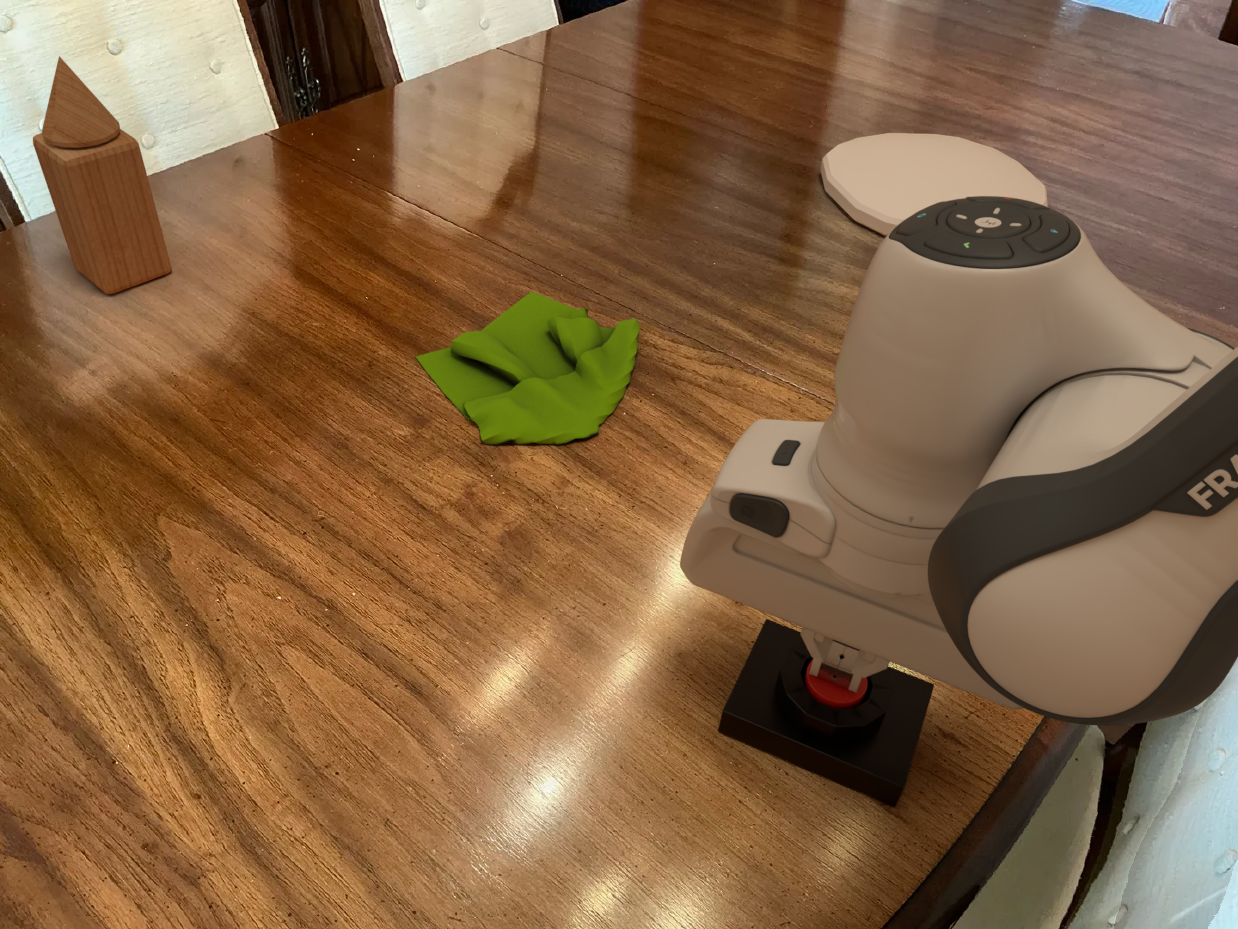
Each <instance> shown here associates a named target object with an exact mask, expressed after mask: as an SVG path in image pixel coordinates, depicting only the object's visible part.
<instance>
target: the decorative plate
mask: <svg viewBox="0 0 1238 929" xmlns="http://www.w3.org/2000/svg"><path fill="white" fill-rule="evenodd" d="M819 171H820V175H821V179H822V183H823V188H824V191H825V192H826V193H827V195H829V196H830V198H832V200H834V202H836V204H838V205H839V206H840V208H842V210H843V211H844V212H845V213H846V214H847V215H848V216H849V217H850V218H851V219H852V220H854V221H855V223H858V224H859V225H862V226H864V227H866V228H868V229H870V230H872V231H874V232H876V233H878V234H880V235H882V236H884V237H886V236H887V235H888V234H889V233H890V232H891V231H892V230H893V229H894V228H895V227H896V226H897V225H899V224H900V223H901V222H902V221H904V220H905V219H907V218H908V217H910V216H912V215H913V214H915V213H916V212H918V211H920V210H922V209H924V208H926V207H928V206H931V205H933V204H936V203H939V202H942V201H950V200H955V199H963V198H966V197H973V196H998V197H1010V198H1017V199H1022V200H1027V201H1031V202H1035V203H1038V204H1041V205H1043V206H1046V207H1048V206H1049V205H1048V193H1047V192H1048V191H1047V187H1046V185H1045V184H1044V183H1043V182H1042V181H1040V180H1039V179H1038V178H1037V177H1036V176H1035V175H1033V173H1031V172H1030V171H1029V170H1028V168H1026V167H1025V166H1024V165H1022V164H1021V162H1019V161H1017V160H1016V159H1014V158H1012V157H1010V156H1009V155H1007V154H1005V153H1004V152H1002V151H1001V150H998V149H997V148H996V147H992V146H988V145H985V144H982V143H979V142H975V141H973V140H969V139H966V138H963V137H960V136H953V135H946V134H938V133H911V132H910V133H909V132H887V133H880V134H873V135H867V136H861V137H860V136H859V137H855V138H852V139H850V140H847V141H844V142H842V143H839V144H837V145H835V146H834V147H833V148H832V149H831V150H830V151H828V152H827V153H825V155H824V156H823V157H822V159H821V164H820V167H819Z"/></svg>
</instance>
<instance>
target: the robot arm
mask: <svg viewBox="0 0 1238 929" xmlns="http://www.w3.org/2000/svg"><path fill="white" fill-rule="evenodd" d="M843 335H844V336H843V339H842V342H841V345H840V346H841V347H840V349H839V353H838V357H837V361H836V365H835V369H834V375H833V389H834V396H835V397H834V398H835V402H834V406H833V410H832V411H831V413H830V414H829V415H828V417H827V418H826V420H825V421H811V420H810V421H809V420H808V421H807V420H789V419H773V418H761V419H757V420H754V421H753V422H752V423H750V425H749V427H747V428H746V429H745V431H744V432H743V433H742V434H741V436H739V438H738V440H737V441H736V442H735V444H734V445H733V446H732V448H731V450H730V451H729V452H728V454H727V456H726V457H725V459H724V461H723V463H722V465H721V467H720V469H719V471H718V474H717V476H716V478H715V481H714V483H713V486H712V488H711V489H710V490H709V492H708V494H707V495H706V496H705V498H704V501H703V502H702V504H701V506H700V507H699V508H698V511H697V513H696V514H695V516H694V518H693V520H692V522H691V524H690V526H689V529H688V531H687V535H686V536H685V540H684V543H683V547H682V550H681V556H680V561H679V567H680V569H681V571H682V573H683V574H684V576H685V577H686V579H687V581H688V582H689V583H690V584H692V585H693V586H694V587H697V588H700V589H703V590H706V591H709V592H711V593H714V594H716V595H719V596H721V597H724V598H726V599H728V600H731V601H734V602H736V603H739V604H742V605H744V606H746V607H749V608H752V609H754V610H757V611H760V612H762V613H765V614H767V615H770V616H772V617H775V618H777V619H780V620H782V621H784V622H788V623H790V624H792V625H795V626H798V627H801V630H800V632H801V634H800V635H801V637H802V639H803V641H804V643H805V645H806V647H807V649H808V651H809V653H810V655H811V657H813V658H814V659H813V662H812V665H811V668H810V672H809V674H810V675H813V676H816V677H819V678H821V679H824V680H826V681H829V682H831V683H834V684H836V685H838V686H841V687H843V688H845V689H848V688H849V689H848V690H850V691H853V692H855V693H856V692H857V690H858V687H859V684H860V682H861V679H862V677H863V678H866V677H868V676H870V675H873V674H875V673H878V672H880V671H882V670H885V669H887V667H888V666H889V665H890V663H893V664H895V665H898V666H900V667H902V668H906V669H908V670H910V671H913V672H915V673H918V674H920V675H923V676H926V677H928V678H930V679H933V680H936V681H938V682H941V683H943V684H946V685H948V686H950V687H954V688H956V689H959V690H961V691H964V692H966V693H968V694H972V695H974V696H977V697H980V698H982V699H984V700H987V701H988V702H992V703H994V704H997V705H999V706H1002V707H1004V708H1007V709H1010V710H1016V711H1017V710H1020V709H1025V710H1028V711H1030V712H1032V713H1035V714H1037V715H1039V716H1043V717H1045V718H1048V719H1052V720H1056V721H1061V722H1065V723H1071V724H1078V725H1085V726H1100V727H1101V726H1102V727H1103V726H1104V727H1105V726H1106V727H1108V726H1109V727H1111V726H1126V725H1135V724H1142V723H1149V722H1155V721H1160V720H1162V719H1163V720H1164V719H1168V718H1171V717H1174V716H1175V717H1176V716H1178V715H1181V714H1184V713H1185V712H1188V711H1190V710H1192V709H1194V708H1196V707H1197V706H1199V705H1200V704H1202V703H1204V702H1205V701H1206V700H1207V699H1208V698H1209V697H1211V696H1212V695H1213V694H1214V693H1215V691H1216V690H1217V689H1218V688H1219V687H1220V686H1221V685H1222V684H1223V682H1224V681H1225V680H1226V677H1227V676H1228V674H1229V673H1230V671H1231V670H1232V668H1233V667H1234V665H1235V663H1236V661H1237V659H1238V345H1237V346H1236V347H1234V346H1233V345H1230V344H1229V343H1227V342H1226V341H1224V340H1221V339H1220V338H1217V337H1215V336H1213V335H1212V334H1208V333H1206V332H1202V331H1200V330H1197V329H1193V328H1190V327H1187V326H1184V325H1182V324H1180V323H1179V322H1177V321H1176V320H1174V319H1172V318H1170V317H1169V316H1167V315H1166V314H1165V313H1163V312H1161V311H1160V310H1158V309H1156V308H1155V307H1153V306H1152V305H1151V304H1150V303H1148V302H1147V301H1145V300H1144V299H1142V298H1141V297H1140V296H1139V295H1138V294H1136V293H1135V292H1134V291H1133V290H1132V289H1130V288H1129V287H1128V286H1127V285H1125V284H1124V283H1123V282H1122V280H1120V279H1119V278H1118V277H1117V276H1116V275H1115V274H1114V273H1112V272H1111V270H1109V268H1108V267H1107V266H1106V265H1105V264H1104V262H1103V261H1102V260H1101V259H1100V257H1099V256H1098V254H1097V252H1096V250H1095V249H1094V248H1093V246H1092V244H1091V242H1090V240H1089V238H1088V236H1087V235H1086V233H1085V232H1084V230H1083V229H1082V227H1081V226H1079V224H1077V223H1076V222H1075V221H1074V220H1072V219H1071V218H1070V217H1068V216H1067V215H1065V214H1063V213H1062V212H1060V211H1058V210H1055V209H1053V208H1050V207H1048V206H1047V207H1046V206H1043V205H1041V204H1038V203H1035V202H1031V201H1027V200H1022V199H1017V198H1010V197H998V196H973V197H966V198H963V199H955V200H950V201H942V202H939V203H936V204H933V205H931V206H928V207H926V208H924V209H922V210H920V211H918V212H916V213H915V214H913V215H912V216H910V217H908V218H907V219H905V220H904V221H902V222H901V223H900V224H899V225H897V226H896V227H895V228H894V229H893V230H892V231H891V232H890V233H889V234H888V235H887V236H884V239H883V240H882V242H880V244H879V246H878V247H877V249H876V251H875V253H874V255H873V256H872V259H871V260H870V263H869V265H868V267H867V270H866V271H865V275H864V276H863V279H862V282H861V285H860V287H859V290H858V293H857V296H856V298H855V302H854V304H853V307H852V310H851V313H850V316H849V319H848V322H847V325H846V329H845V332H844V334H843ZM833 640H836V641H838V642H841V643H844V644H846V645H849V646H851V647H854V648H856V649H859V650H860V651H858V650H855V649H852V648H850V647H847V646H844V645H842V644H840V643H837V642H835V641H833Z"/></svg>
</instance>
